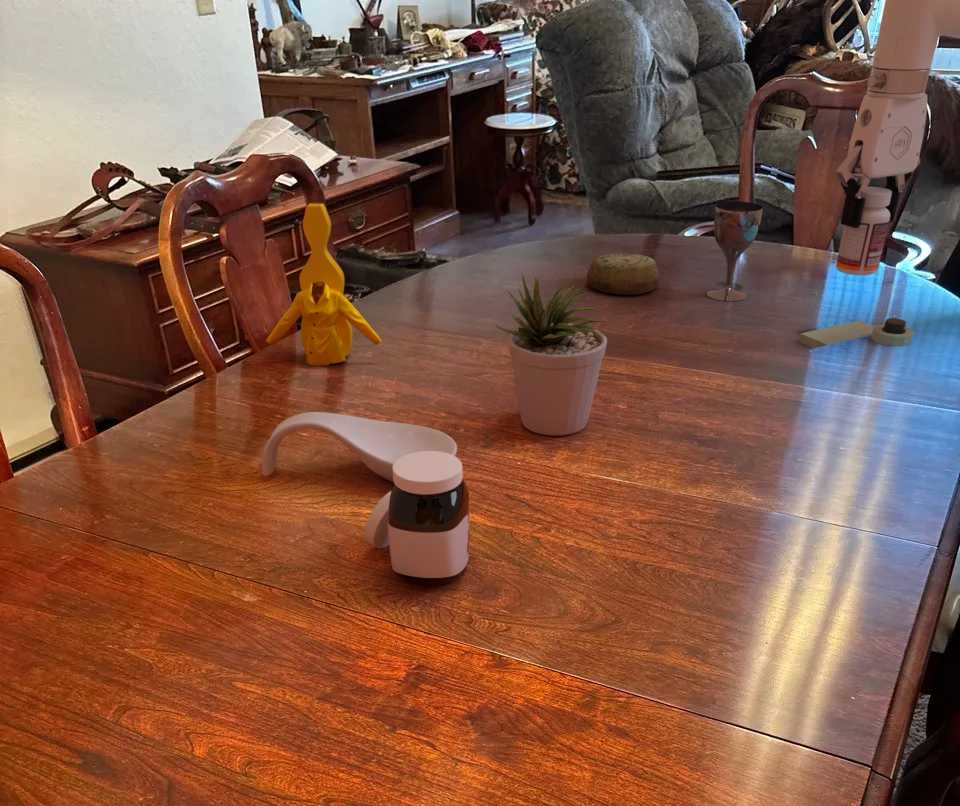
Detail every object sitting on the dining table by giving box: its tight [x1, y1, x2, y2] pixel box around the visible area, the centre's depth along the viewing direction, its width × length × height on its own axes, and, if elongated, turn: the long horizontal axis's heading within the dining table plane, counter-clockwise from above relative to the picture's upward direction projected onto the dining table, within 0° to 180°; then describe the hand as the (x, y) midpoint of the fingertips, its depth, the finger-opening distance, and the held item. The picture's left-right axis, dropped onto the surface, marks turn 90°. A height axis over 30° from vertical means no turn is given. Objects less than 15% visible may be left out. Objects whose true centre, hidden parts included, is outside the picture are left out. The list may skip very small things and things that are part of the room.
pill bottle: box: [835, 186, 892, 277], centre depth 142 cm, size 6×6×11 cm
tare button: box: [883, 317, 907, 334], centre depth 148 cm, size 3×3×2 cm
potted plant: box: [495, 273, 608, 437], centre depth 123 cm, size 13×14×20 cm
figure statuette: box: [265, 202, 383, 367], centre depth 142 cm, size 18×8×22 cm, turn 87°
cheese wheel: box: [586, 253, 660, 296], centre depth 177 cm, size 14×13×5 cm
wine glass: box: [706, 200, 764, 302], centre depth 169 cm, size 8×8×15 cm
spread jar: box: [363, 451, 471, 586], centre depth 97 cm, size 12×11×12 cm
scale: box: [798, 320, 915, 349], centre depth 150 cm, size 13×12×3 cm
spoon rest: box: [261, 411, 458, 483], centre depth 115 cm, size 24×12×7 cm, turn 89°
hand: (867, 221), depth 141 cm, fingers closed on pill bottle, 6 cm apart
